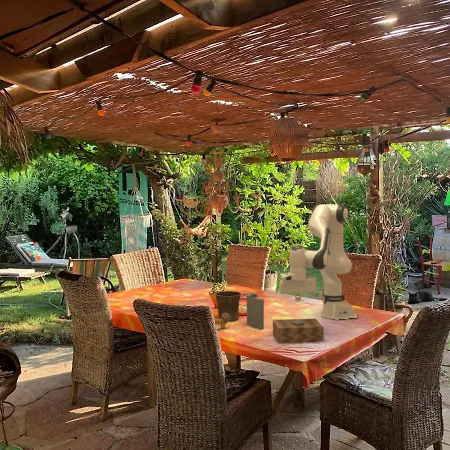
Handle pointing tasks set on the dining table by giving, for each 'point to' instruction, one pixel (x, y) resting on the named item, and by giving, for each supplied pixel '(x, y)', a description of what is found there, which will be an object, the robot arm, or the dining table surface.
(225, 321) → the lion figurine
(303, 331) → the block
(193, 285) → the dining table surface
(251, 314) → the hip flask
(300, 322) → the knob
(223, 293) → the plant pot
